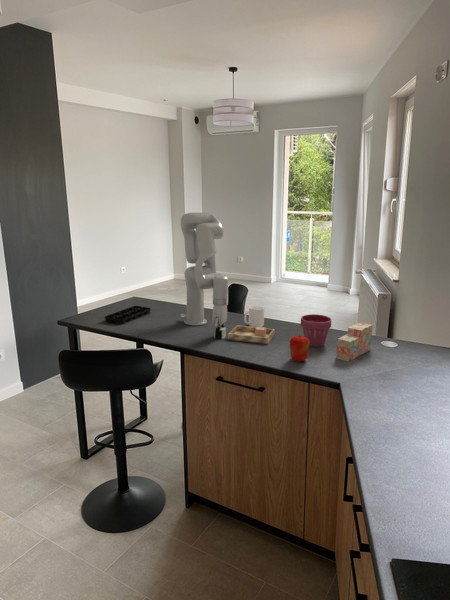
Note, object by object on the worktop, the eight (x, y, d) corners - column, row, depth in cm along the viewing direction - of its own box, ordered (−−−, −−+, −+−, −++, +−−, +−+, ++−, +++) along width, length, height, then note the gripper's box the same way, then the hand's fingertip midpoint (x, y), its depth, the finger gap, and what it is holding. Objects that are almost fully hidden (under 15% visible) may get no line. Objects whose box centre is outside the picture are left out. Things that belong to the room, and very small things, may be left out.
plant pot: (295, 345, 202) (297, 319, 199) (303, 337, 214) (305, 312, 211) (326, 350, 196) (328, 323, 193) (332, 341, 208) (334, 316, 205)
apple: (297, 365, 178) (299, 338, 175) (284, 358, 185) (285, 332, 182) (312, 361, 183) (314, 335, 180) (299, 355, 189) (301, 329, 187)
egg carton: (153, 312, 258) (153, 306, 257) (131, 326, 229) (131, 320, 229) (126, 310, 262) (126, 304, 261) (101, 324, 233) (101, 317, 233)
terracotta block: (254, 337, 210) (255, 329, 209) (257, 335, 214) (257, 326, 213) (263, 338, 209) (264, 330, 208) (265, 336, 213) (266, 327, 212)
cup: (266, 326, 231) (267, 308, 229) (248, 329, 225) (249, 311, 223) (258, 322, 238) (258, 305, 236) (240, 325, 232) (240, 307, 230)
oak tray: (228, 339, 209) (228, 333, 208) (236, 330, 223) (236, 325, 222) (267, 344, 203) (268, 338, 202) (274, 334, 217) (274, 329, 216)
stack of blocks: (348, 362, 182) (351, 335, 179) (335, 358, 186) (337, 331, 183) (370, 349, 197) (372, 324, 195) (357, 346, 202) (360, 321, 199)
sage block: (214, 337, 212) (214, 329, 211) (217, 335, 216) (217, 326, 215) (223, 338, 210) (223, 330, 209) (225, 336, 214) (225, 327, 213)
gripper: (218, 296, 218) (218, 330, 222) (207, 304, 202) (207, 340, 206) (232, 298, 215) (232, 332, 220) (222, 305, 200) (221, 342, 204)
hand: (220, 336), depth 213 cm, fingers closed on sage block, 4 cm apart
